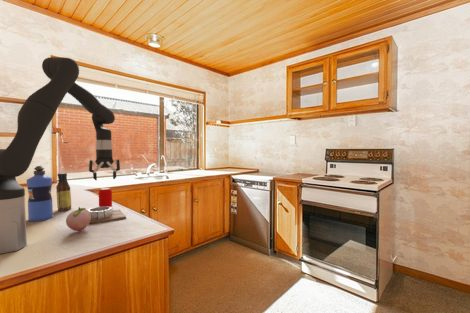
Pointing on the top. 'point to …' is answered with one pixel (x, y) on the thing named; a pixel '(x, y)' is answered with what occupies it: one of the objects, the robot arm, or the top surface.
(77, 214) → the decorative fruit
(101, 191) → the beverage can
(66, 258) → the top surface
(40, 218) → the water bottle
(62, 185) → the sauce bottle
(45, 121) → the robot arm
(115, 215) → the walnut base board
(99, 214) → the steel collar
